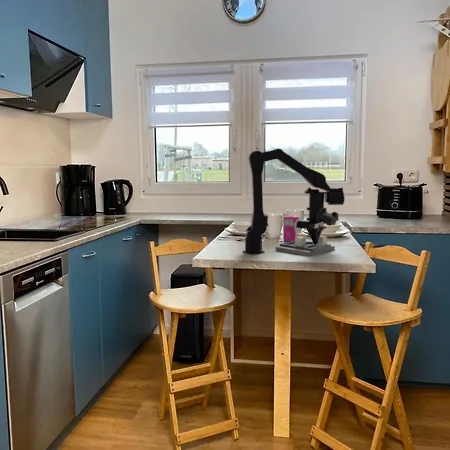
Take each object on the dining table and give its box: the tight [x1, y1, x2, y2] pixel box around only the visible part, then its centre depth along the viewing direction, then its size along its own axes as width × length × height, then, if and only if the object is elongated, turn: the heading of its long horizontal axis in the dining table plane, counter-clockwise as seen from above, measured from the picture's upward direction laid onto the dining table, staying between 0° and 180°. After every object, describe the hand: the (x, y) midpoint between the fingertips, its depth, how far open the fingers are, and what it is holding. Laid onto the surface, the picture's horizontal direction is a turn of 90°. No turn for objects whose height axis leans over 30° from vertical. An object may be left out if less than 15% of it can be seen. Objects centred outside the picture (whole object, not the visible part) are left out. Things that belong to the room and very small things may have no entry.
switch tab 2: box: [295, 237, 307, 247], centre depth 182 cm, size 3×3×4 cm
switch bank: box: [275, 240, 336, 257], centre depth 185 cm, size 18×16×2 cm
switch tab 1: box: [295, 232, 307, 238], centre depth 191 cm, size 3×3×4 cm
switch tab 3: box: [316, 235, 328, 247], centre depth 184 cm, size 3×3×4 cm
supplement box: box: [282, 215, 301, 243], centre depth 204 cm, size 6×6×12 cm
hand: (315, 244), depth 181 cm, fingers closed
